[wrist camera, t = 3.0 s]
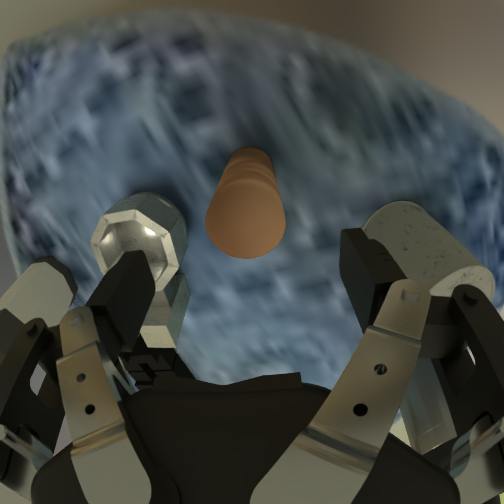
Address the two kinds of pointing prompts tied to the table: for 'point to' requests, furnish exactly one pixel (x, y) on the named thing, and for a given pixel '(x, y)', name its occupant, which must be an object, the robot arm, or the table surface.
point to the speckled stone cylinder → (426, 250)
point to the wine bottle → (35, 299)
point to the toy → (152, 364)
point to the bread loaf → (246, 206)
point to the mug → (149, 257)
